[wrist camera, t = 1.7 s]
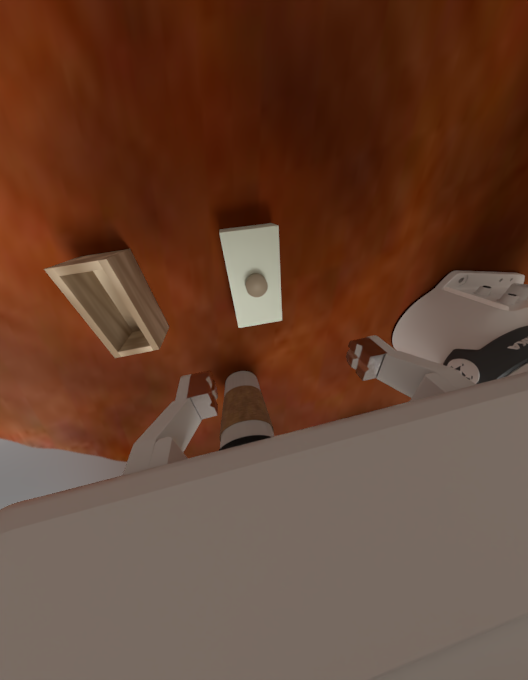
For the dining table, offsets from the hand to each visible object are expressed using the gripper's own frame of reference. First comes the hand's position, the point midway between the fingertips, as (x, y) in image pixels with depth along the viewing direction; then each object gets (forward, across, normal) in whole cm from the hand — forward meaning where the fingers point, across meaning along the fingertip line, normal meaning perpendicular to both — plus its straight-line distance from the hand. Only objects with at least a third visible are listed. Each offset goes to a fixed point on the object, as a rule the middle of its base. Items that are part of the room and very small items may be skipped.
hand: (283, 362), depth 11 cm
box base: (+17, +14, 0) cm, 22 cm away
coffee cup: (+17, +4, +19) cm, 26 cm away
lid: (+17, -1, 0) cm, 17 cm away
